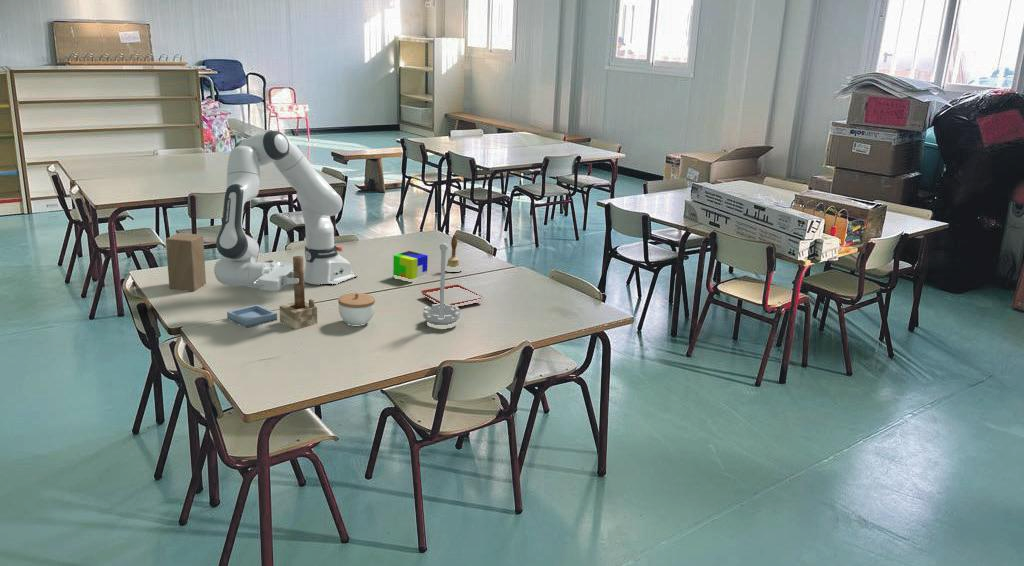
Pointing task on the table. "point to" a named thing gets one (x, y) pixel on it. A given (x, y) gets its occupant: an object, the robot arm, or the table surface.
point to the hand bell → (453, 253)
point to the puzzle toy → (410, 264)
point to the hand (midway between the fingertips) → (301, 278)
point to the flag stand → (442, 300)
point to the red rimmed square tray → (446, 288)
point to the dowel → (299, 288)
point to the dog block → (298, 315)
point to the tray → (252, 315)
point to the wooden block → (186, 261)
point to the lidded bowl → (356, 308)
